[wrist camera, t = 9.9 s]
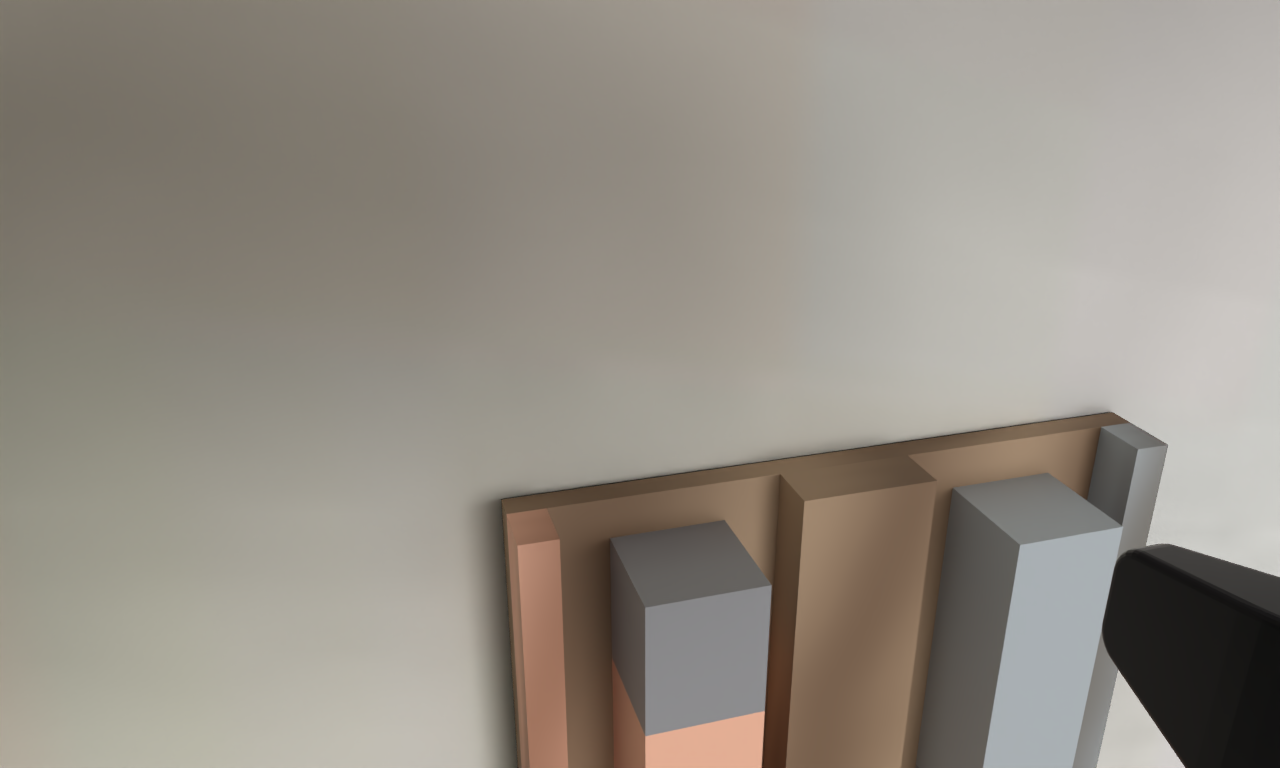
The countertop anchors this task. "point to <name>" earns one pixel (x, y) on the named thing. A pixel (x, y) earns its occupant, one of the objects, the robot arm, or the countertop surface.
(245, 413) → the countertop surface
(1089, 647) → the grey square bar
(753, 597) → the two-tone eraser
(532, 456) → the countertop surface
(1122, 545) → the cord caddy
